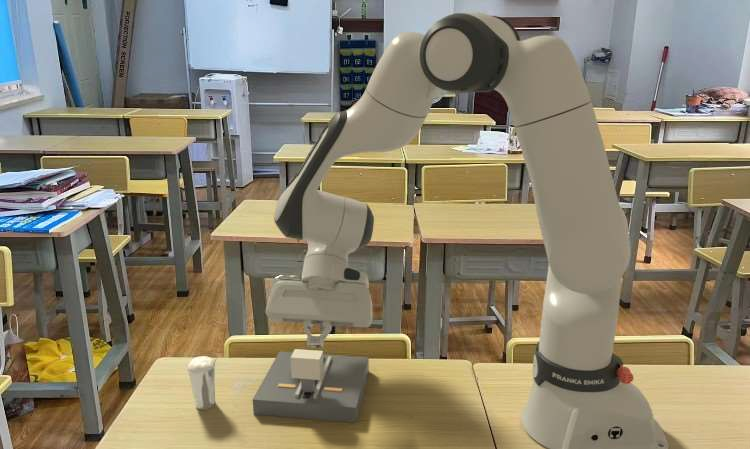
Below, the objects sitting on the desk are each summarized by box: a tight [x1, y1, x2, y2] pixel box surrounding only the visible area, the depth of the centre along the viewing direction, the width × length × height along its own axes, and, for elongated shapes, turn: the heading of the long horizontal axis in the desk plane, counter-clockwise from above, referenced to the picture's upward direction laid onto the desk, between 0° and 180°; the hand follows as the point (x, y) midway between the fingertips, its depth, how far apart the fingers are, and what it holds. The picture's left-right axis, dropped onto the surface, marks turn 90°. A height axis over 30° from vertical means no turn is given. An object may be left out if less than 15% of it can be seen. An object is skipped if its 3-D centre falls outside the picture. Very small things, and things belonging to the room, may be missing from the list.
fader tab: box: [291, 348, 324, 392], centre depth 95 cm, size 5×3×7 cm, turn 83°
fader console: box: [252, 351, 370, 424], centre depth 101 cm, size 18×16×4 cm
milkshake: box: [187, 356, 218, 411], centre depth 95 cm, size 5×5×10 cm
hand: (314, 346), depth 101 cm, fingers closed
